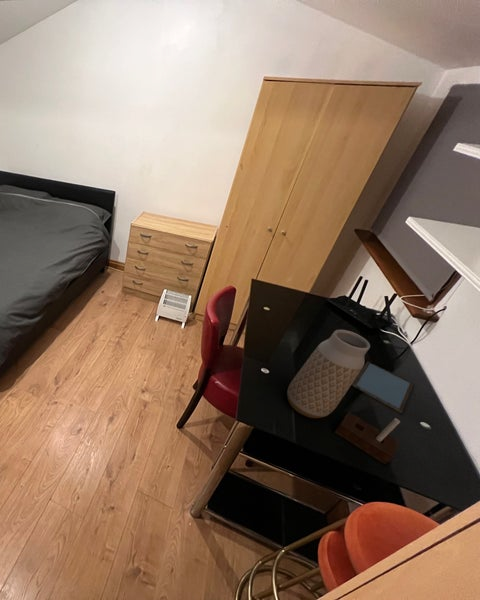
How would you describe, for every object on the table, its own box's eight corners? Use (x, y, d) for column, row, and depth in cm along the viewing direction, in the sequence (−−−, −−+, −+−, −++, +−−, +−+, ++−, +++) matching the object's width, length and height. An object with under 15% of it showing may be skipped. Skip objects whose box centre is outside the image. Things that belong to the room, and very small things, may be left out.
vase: (336, 420, 108) (392, 352, 91) (303, 426, 105) (355, 357, 88) (304, 388, 119) (349, 322, 102) (273, 393, 116) (314, 326, 99)
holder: (391, 449, 100) (399, 441, 98) (385, 464, 95) (393, 457, 93) (342, 419, 108) (348, 411, 106) (334, 432, 104) (341, 424, 101)
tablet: (366, 362, 134) (367, 361, 134) (412, 385, 125) (413, 383, 124) (351, 386, 122) (352, 384, 121) (400, 413, 112) (402, 411, 112)
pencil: (374, 446, 100) (400, 420, 93) (373, 449, 100) (399, 423, 92) (369, 443, 101) (395, 417, 94) (368, 445, 100) (393, 419, 93)
